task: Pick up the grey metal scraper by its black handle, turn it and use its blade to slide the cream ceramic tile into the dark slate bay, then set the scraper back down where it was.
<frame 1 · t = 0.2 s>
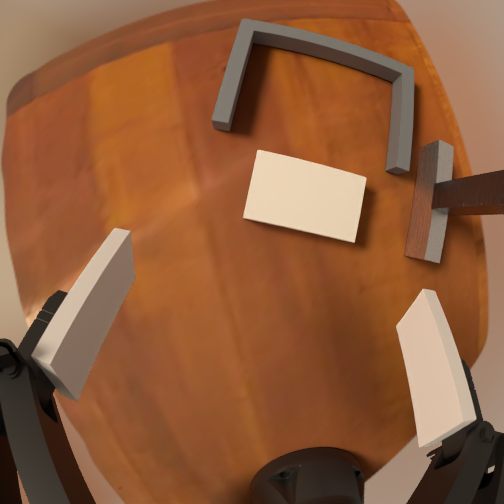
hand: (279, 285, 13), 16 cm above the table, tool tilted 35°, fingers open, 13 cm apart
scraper: (421, 202, 28), on the table
slate bay: (320, 96, 27), on the table
cream tile: (301, 199, 28), on the table
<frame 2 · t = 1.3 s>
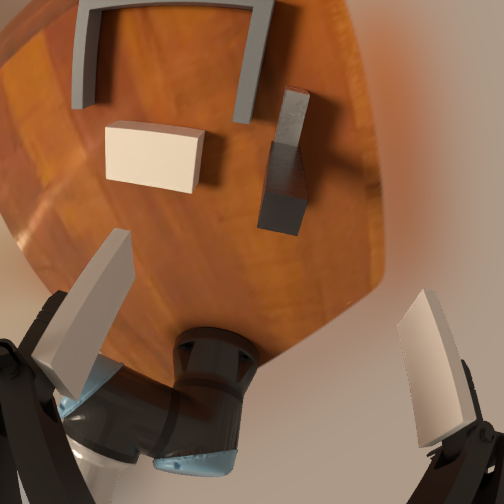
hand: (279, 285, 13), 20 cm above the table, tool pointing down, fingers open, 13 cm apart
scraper: (283, 144, 29), on the table
slate bay: (165, 50, 23), on the table
cream tile: (158, 149, 30), on the table
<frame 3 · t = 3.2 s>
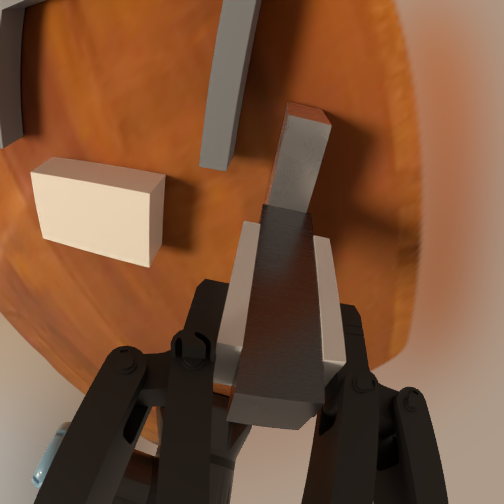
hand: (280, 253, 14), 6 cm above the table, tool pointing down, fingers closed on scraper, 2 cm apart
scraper: (282, 194, 19), on the table, touching gripper
slate bay: (100, 54, 14), on the table
cream tile: (105, 198, 21), on the table
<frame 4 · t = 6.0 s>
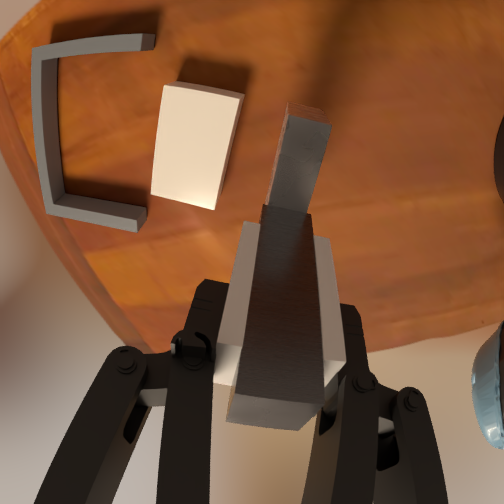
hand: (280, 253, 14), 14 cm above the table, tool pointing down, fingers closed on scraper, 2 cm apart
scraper: (282, 194, 19), point 8 cm above the table, touching gripper
slate bay: (94, 130, 25), on the table
cream tile: (199, 139, 25), on the table
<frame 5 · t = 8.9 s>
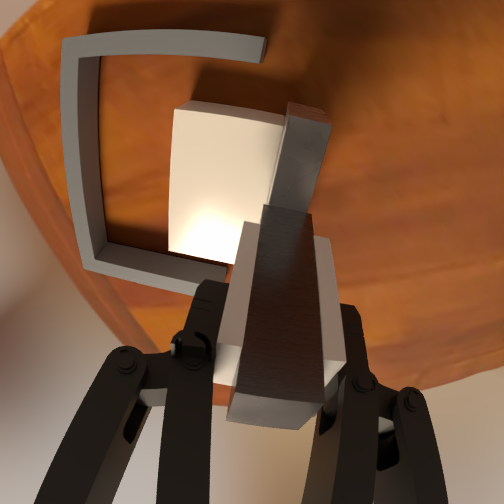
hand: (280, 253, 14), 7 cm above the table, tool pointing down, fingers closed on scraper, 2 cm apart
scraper: (283, 194, 19), point 1 cm above the table, touching gripper
slate bay: (157, 165, 20), on the table
cream tile: (225, 176, 20), on the table
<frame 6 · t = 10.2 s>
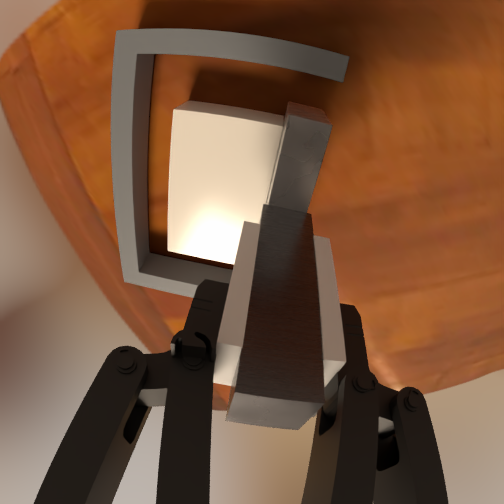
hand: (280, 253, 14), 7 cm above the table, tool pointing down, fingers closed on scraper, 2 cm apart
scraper: (283, 194, 19), point 1 cm above the table, touching gripper
slate bay: (216, 175, 20), on the table
cream tile: (224, 176, 20), on the table
when the fingers open (7 cm above the table, at t = 14.7 s): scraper drops 1 cm, on the table.
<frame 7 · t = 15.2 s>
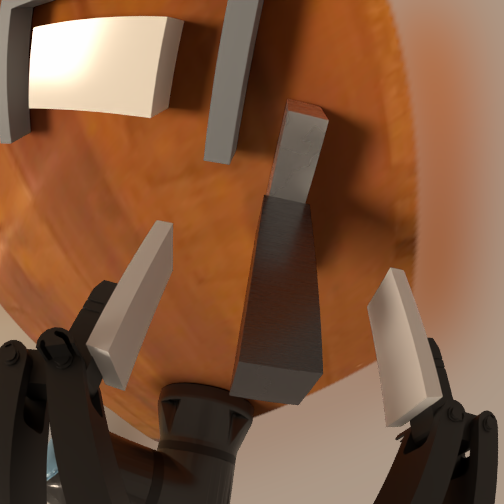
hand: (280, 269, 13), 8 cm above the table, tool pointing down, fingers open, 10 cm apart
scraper: (283, 187, 20), on the table
slate bay: (108, 53, 15), on the table
cream tile: (108, 59, 15), on the table
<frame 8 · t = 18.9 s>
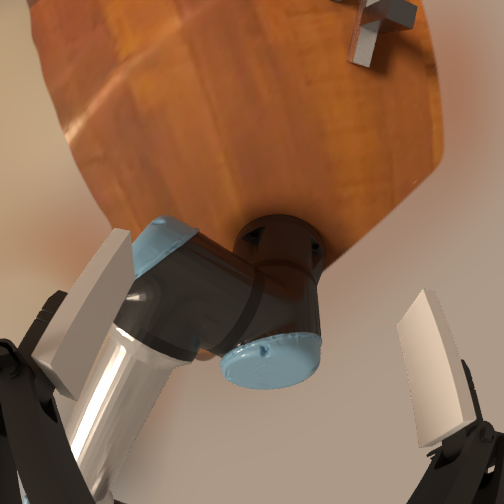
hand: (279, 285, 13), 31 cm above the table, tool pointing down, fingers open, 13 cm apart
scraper: (363, 23, 27), on the table
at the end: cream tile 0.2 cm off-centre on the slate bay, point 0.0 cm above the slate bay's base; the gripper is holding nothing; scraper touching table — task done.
